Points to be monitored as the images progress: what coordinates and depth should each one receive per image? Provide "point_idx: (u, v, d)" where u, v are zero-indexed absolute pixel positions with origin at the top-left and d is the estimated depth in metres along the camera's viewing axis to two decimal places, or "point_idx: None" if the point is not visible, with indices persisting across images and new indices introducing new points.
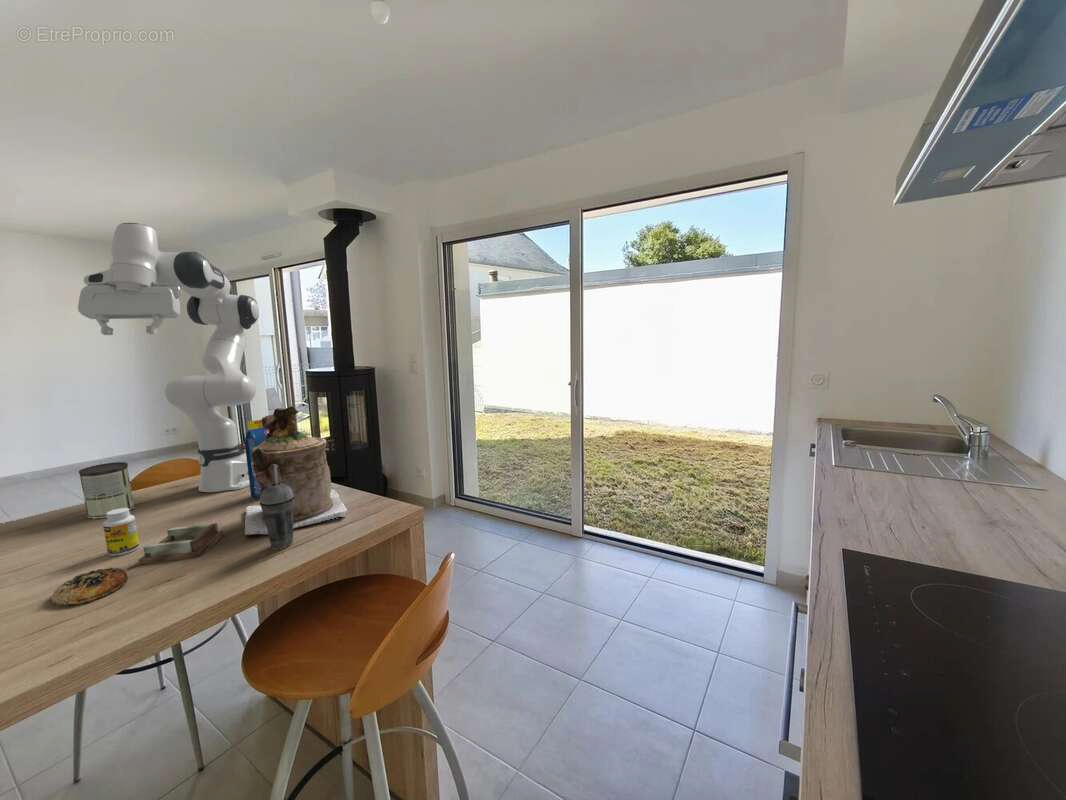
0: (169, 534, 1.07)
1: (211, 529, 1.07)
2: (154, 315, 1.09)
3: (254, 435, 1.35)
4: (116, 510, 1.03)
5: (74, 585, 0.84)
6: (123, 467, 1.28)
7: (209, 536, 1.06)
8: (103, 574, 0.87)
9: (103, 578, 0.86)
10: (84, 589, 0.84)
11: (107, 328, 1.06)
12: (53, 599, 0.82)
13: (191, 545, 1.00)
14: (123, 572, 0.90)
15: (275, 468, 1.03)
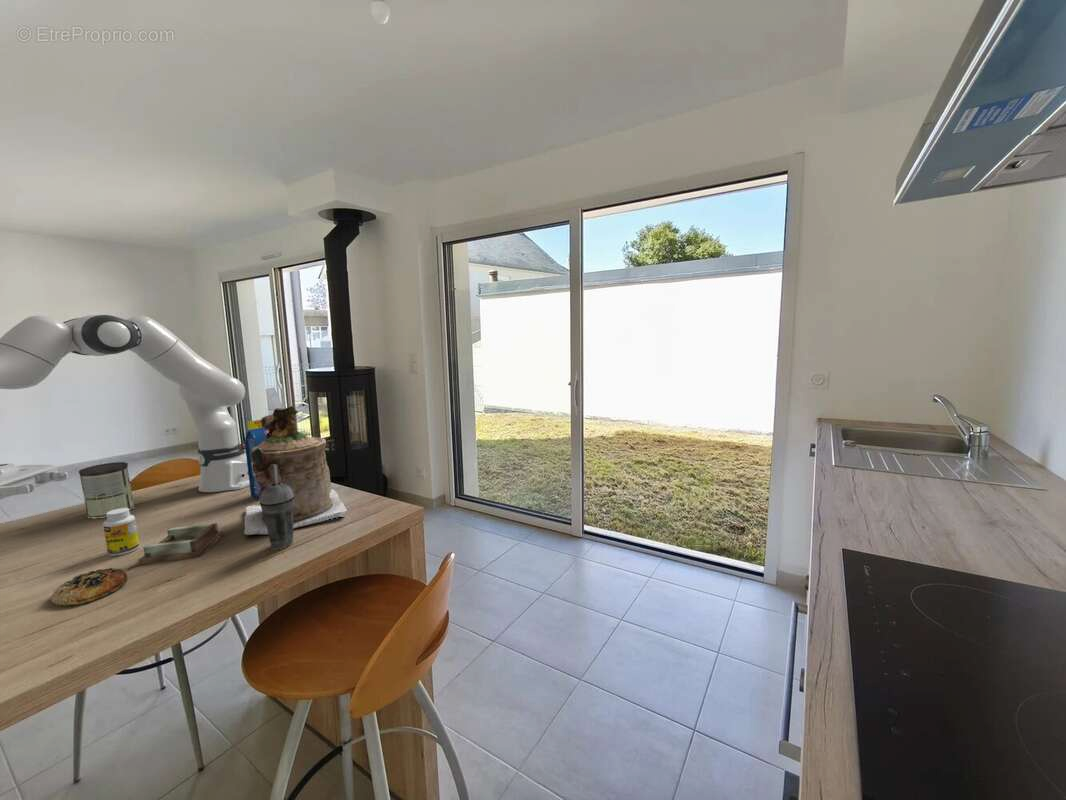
0: (169, 534, 1.07)
1: (211, 529, 1.07)
2: None
3: (254, 435, 1.35)
4: (116, 510, 1.03)
5: (74, 586, 0.84)
6: (123, 467, 1.28)
7: (209, 536, 1.06)
8: (103, 574, 0.86)
9: (103, 579, 0.86)
10: (84, 589, 0.84)
11: (57, 480, 1.02)
12: (53, 599, 0.82)
13: (191, 545, 1.00)
14: (123, 572, 0.90)
15: (275, 468, 1.03)
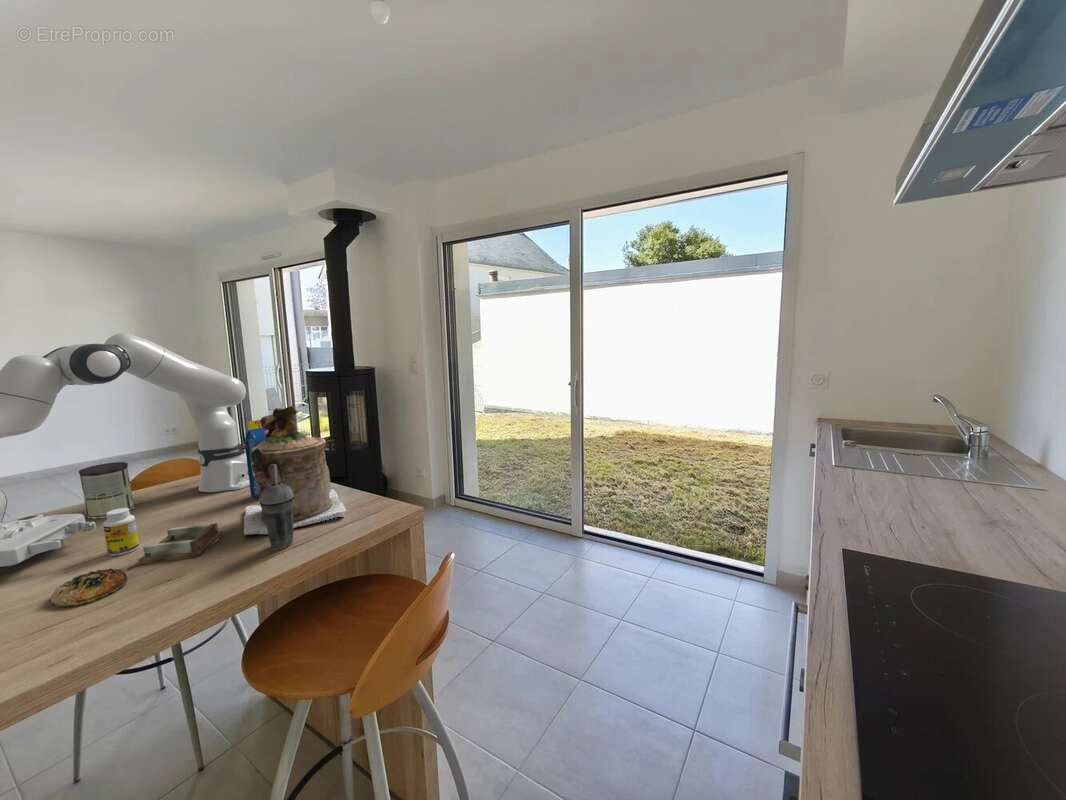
0: (169, 534, 1.07)
1: (211, 529, 1.07)
2: None
3: (254, 435, 1.35)
4: (116, 510, 1.03)
5: (73, 586, 0.83)
6: (123, 467, 1.28)
7: (209, 536, 1.06)
8: (102, 575, 0.86)
9: (103, 579, 0.86)
10: (84, 589, 0.83)
11: (86, 530, 1.05)
12: (52, 600, 0.82)
13: (191, 545, 1.00)
14: (123, 573, 0.90)
15: (275, 468, 1.03)
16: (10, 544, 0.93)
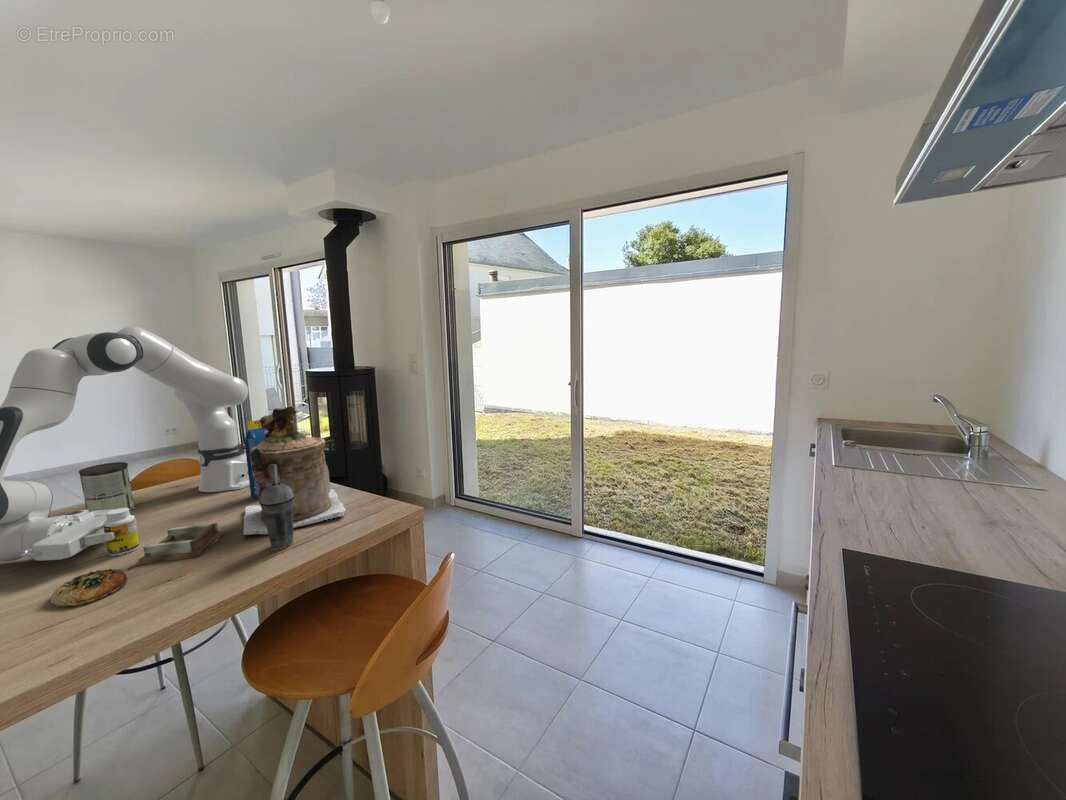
0: (169, 534, 1.07)
1: (211, 529, 1.07)
2: None
3: (254, 435, 1.35)
4: (116, 510, 1.03)
5: (73, 586, 0.83)
6: (123, 467, 1.28)
7: (209, 536, 1.06)
8: (102, 575, 0.86)
9: (102, 580, 0.86)
10: (83, 590, 0.83)
11: None
12: (52, 600, 0.82)
13: (191, 545, 1.00)
14: (122, 573, 0.89)
15: (275, 468, 1.03)
16: (62, 538, 0.95)
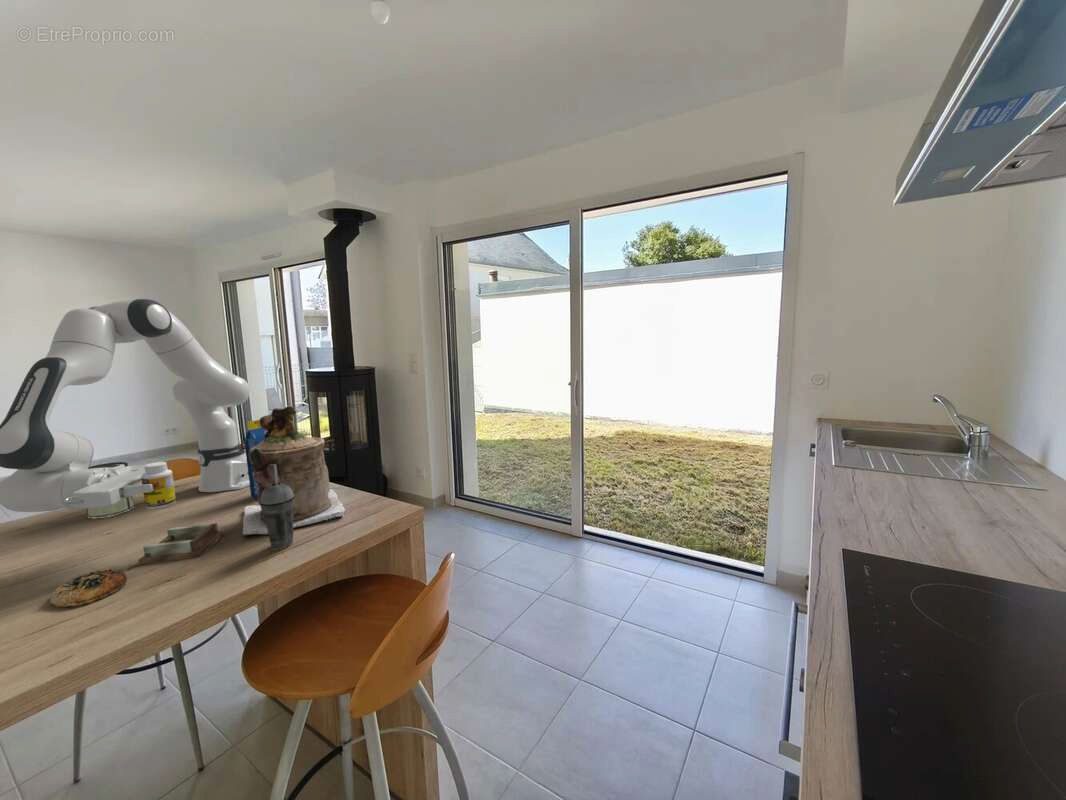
0: (169, 534, 1.07)
1: (211, 529, 1.07)
2: None
3: (254, 435, 1.35)
4: (154, 463, 1.02)
5: (73, 587, 0.83)
6: None
7: (209, 536, 1.06)
8: (102, 576, 0.86)
9: (102, 580, 0.86)
10: (83, 590, 0.83)
11: None
12: (52, 601, 0.82)
13: (191, 545, 1.00)
14: (122, 573, 0.89)
15: (275, 468, 1.03)
16: (102, 487, 0.94)
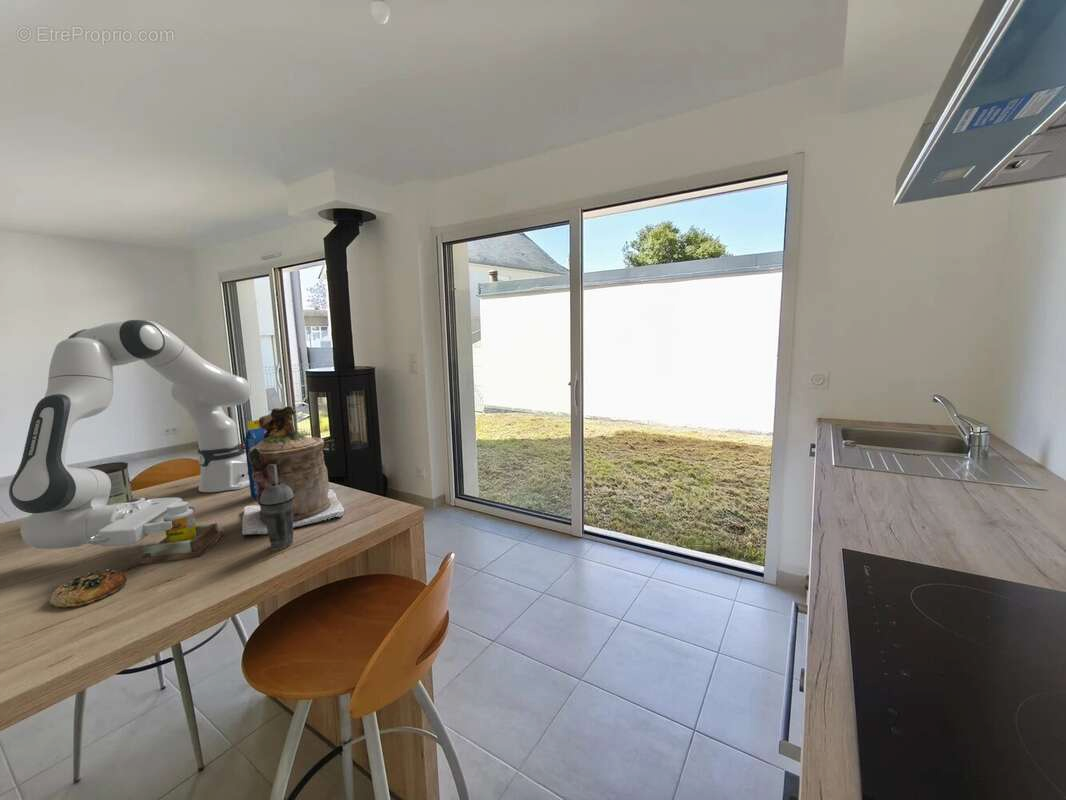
0: None
1: (211, 529, 1.07)
2: None
3: (254, 435, 1.35)
4: (175, 503, 1.03)
5: (72, 587, 0.83)
6: (123, 467, 1.28)
7: (209, 536, 1.06)
8: (102, 576, 0.86)
9: (102, 580, 0.86)
10: (82, 591, 0.83)
11: None
12: (51, 601, 0.82)
13: (191, 545, 1.00)
14: (122, 574, 0.89)
15: (275, 468, 1.03)
16: (126, 524, 0.95)
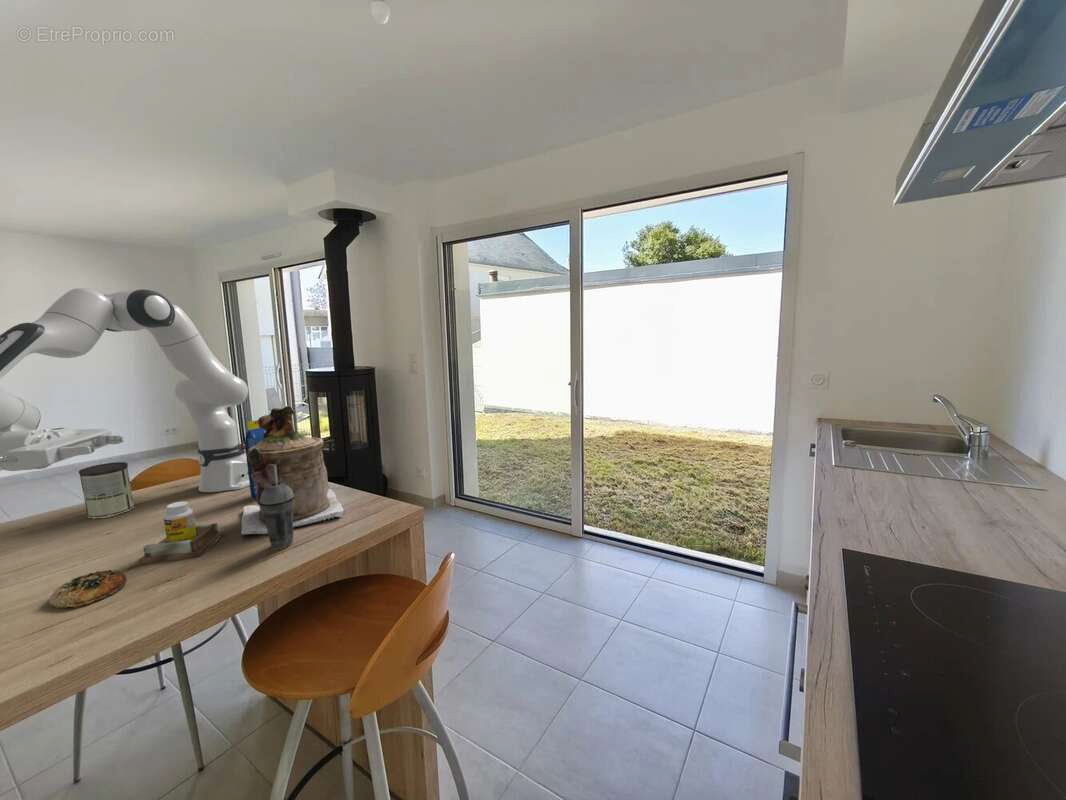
0: None
1: (211, 529, 1.07)
2: None
3: (254, 435, 1.35)
4: (175, 503, 1.03)
5: (72, 588, 0.83)
6: (123, 467, 1.28)
7: (209, 536, 1.06)
8: (101, 576, 0.86)
9: (101, 581, 0.85)
10: (82, 591, 0.83)
11: (114, 443, 1.02)
12: (51, 602, 0.82)
13: (191, 545, 1.00)
14: (122, 574, 0.89)
15: (275, 468, 1.03)
16: (39, 446, 0.90)
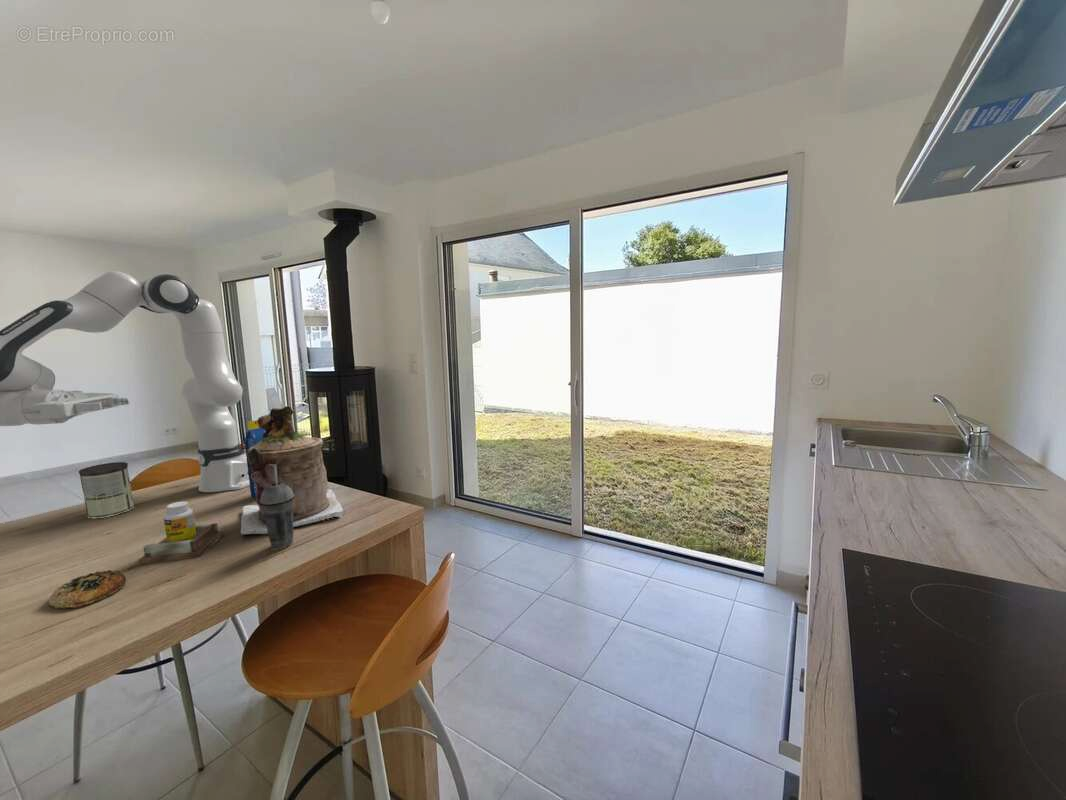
0: None
1: (211, 529, 1.07)
2: (79, 412, 1.08)
3: (254, 435, 1.35)
4: (175, 503, 1.03)
5: (71, 588, 0.83)
6: (123, 467, 1.28)
7: (209, 536, 1.06)
8: (101, 577, 0.86)
9: (101, 581, 0.85)
10: (82, 592, 0.83)
11: (121, 404, 1.18)
12: (50, 602, 0.81)
13: (191, 545, 1.00)
14: (121, 575, 0.89)
15: (275, 468, 1.03)
16: None
